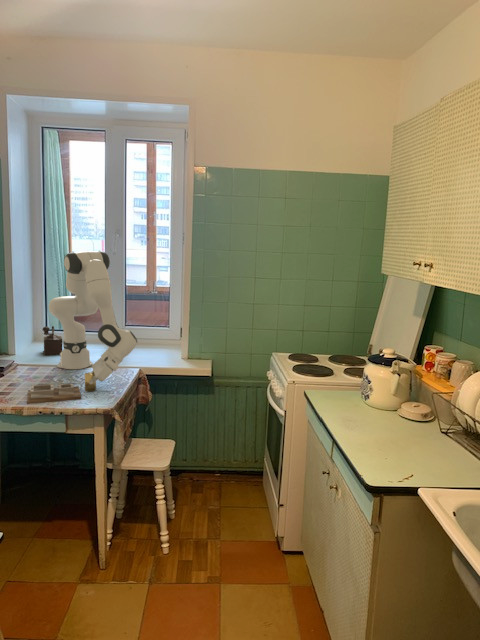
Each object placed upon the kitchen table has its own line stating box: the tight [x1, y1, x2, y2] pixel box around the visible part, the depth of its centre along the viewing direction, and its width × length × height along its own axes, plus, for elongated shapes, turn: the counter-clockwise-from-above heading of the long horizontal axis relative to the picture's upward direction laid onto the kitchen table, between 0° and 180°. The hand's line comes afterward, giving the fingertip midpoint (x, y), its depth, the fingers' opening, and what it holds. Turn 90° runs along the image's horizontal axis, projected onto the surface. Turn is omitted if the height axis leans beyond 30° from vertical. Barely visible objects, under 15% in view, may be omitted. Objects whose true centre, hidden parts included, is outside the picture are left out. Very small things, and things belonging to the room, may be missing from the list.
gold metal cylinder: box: [84, 371, 97, 393], centre depth 227 cm, size 5×5×8 cm
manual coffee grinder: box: [42, 325, 63, 356], centre depth 289 cm, size 16×11×18 cm
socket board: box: [26, 383, 82, 405], centre depth 217 cm, size 15×22×4 cm
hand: (89, 381), depth 226 cm, fingers closed on gold metal cylinder, 5 cm apart
